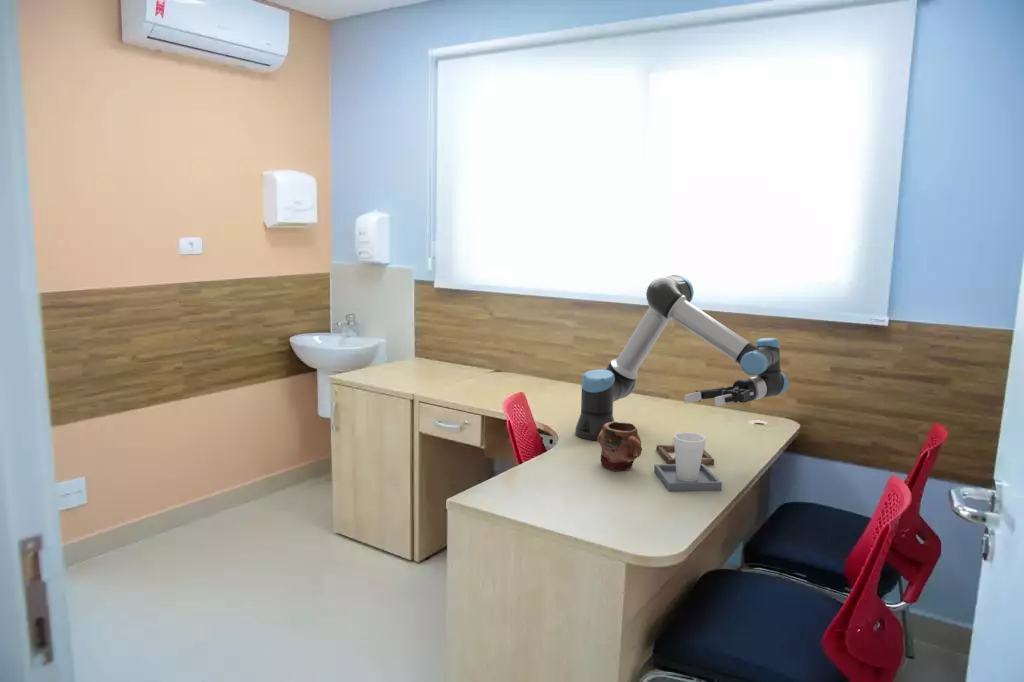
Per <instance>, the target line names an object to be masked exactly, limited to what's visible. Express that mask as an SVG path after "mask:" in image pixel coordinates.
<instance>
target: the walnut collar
mask: <svg viewBox="0 0 1024 682" xmlns="http://www.w3.org/2000/svg"><path fill="white" fill-rule="evenodd" d="M655 447H656V450H655V451H656V452H657V453H658V455H659V456H660V457H661V458H662V459H663V460H664V461H665V464H676V462H675V457H672V456H671V455H670V454H669V453H675V448H674V444H656V446H655ZM701 464H704V465H705V466H714V465H715V458H713V456H712V455H710V454H709V453H708V451H706V450H705V449H704V450H703V455H702V460H701Z"/></svg>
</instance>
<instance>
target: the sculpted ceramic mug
mask: <svg viewBox="0 0 1024 682" xmlns="http://www.w3.org/2000/svg"><path fill="white" fill-rule="evenodd" d="M596 441H597V443H598V444H599V445H600V448H601V453H600V462H601V466H602V467H603V468H604V469H606V470H608V471H611V472H612V471H613V472H623V471H627V470H630V469H631V468H632V467H633V464H634V461H635V460H636V459H638V458H640V457H641V454H642V451H643V447H642V440H641V438H640V436H639V434H638V429H637V427H636V426H635V425H634V424H633V423H630V422H619V421H614V422H609V423H605V424H604V426H603V428H602V430H601V432H600V434H599V435H598V437H597V440H596Z"/></svg>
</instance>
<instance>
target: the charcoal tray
mask: <svg viewBox="0 0 1024 682" xmlns="http://www.w3.org/2000/svg"><path fill="white" fill-rule="evenodd" d="M653 469H654V470H653V473H654V474H655V475H656V477H657V479H659V480H660V481H661V484H662V485H663V486H664V488H666V489H667V491H668V492H711V491H712V492H713V491H714V492H716V491H717V492H718V491H719V492H720V491H722V489H723V488H722V486H723V482H722V481H721V480H720V478H718V477H717V476H716V475H715V474H714V473H713V472H712V471H711V470H710V469H709V467H707V465H704V464H701V465H700V470H699V474H698V478H697V480H696V481H692V482H691V481H682V480H679V479H678V478H677V476H676V464H668V463H665V464H660V463H659V464H655V463H654V467H653Z"/></svg>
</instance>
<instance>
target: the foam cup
mask: <svg viewBox="0 0 1024 682" xmlns="http://www.w3.org/2000/svg"><path fill="white" fill-rule="evenodd" d="M673 445H674V448H675V452H674V458H675V462H676V476H677V478H678V479H679V480H682V481H691V482H692V481H696V480H697V478H698V474H699V470H700V465H701V460H702V455H703V450H705V448H706V437H705V436H704V435H702V434H699V433H695V432H677V433H674V434H673Z"/></svg>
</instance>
